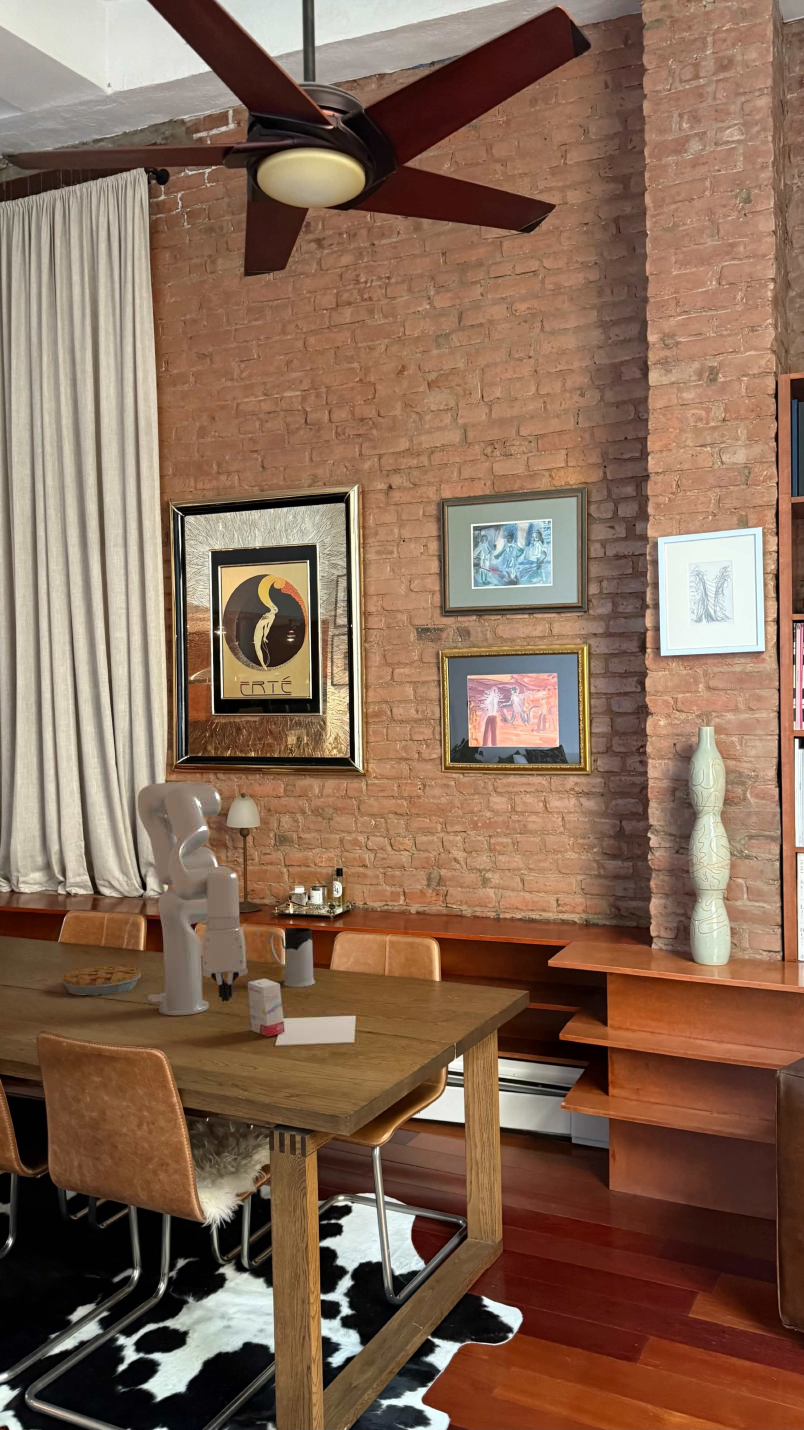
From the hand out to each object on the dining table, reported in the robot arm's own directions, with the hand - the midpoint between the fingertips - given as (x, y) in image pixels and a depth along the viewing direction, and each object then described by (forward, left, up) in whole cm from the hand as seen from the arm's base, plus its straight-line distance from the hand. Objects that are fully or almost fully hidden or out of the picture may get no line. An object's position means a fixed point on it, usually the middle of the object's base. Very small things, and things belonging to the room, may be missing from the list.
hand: (225, 1000), depth 260 cm
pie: (-42, +52, -9) cm, 68 cm away
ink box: (+10, 0, -8) cm, 13 cm away
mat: (+21, 0, -8) cm, 23 cm away
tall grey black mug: (+12, +50, -8) cm, 52 cm away
